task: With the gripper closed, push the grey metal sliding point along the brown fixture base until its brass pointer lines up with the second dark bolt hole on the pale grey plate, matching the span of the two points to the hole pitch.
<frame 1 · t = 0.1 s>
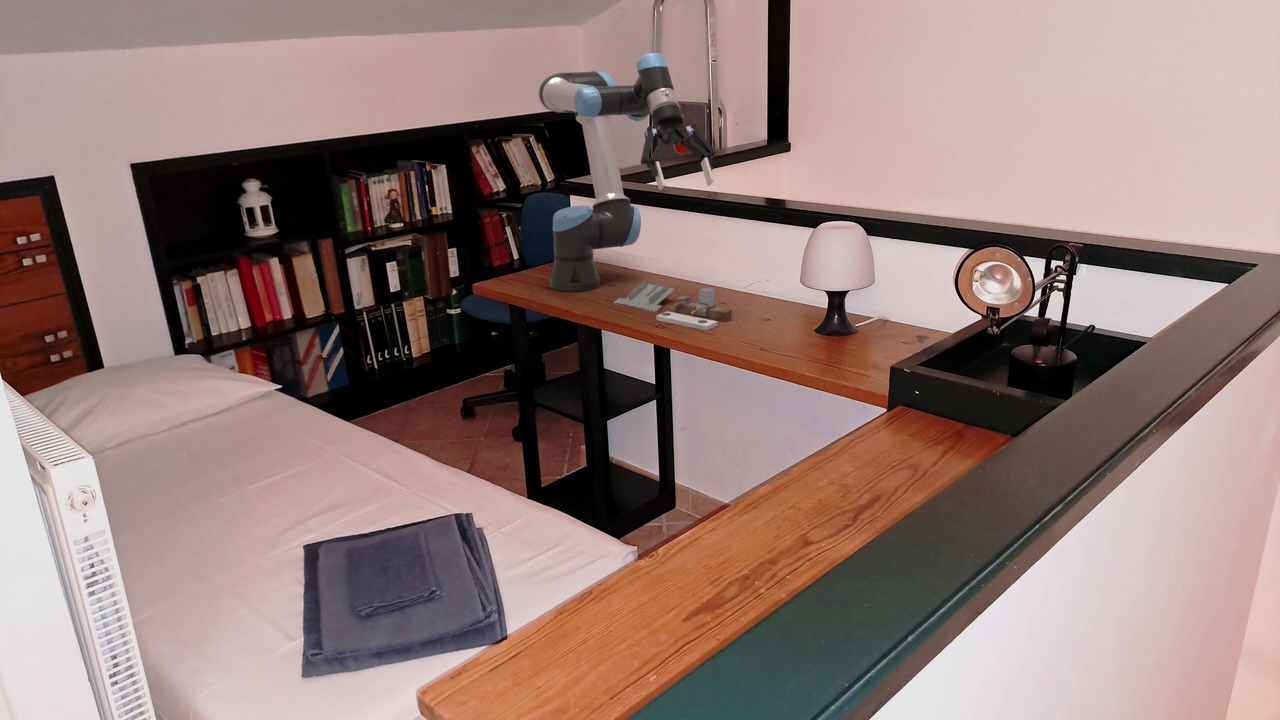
hand: (686, 185, 229), 36 cm above the table, tool tilted 35°, fingers open, 13 cm apart
hole plate: (686, 322, 240), on the table
slider: (702, 303, 242), point 4 cm above the table, slide at 0.0 cm
brown fixture base: (703, 315, 246), on the table
metal bracket: (647, 304, 259), on the table
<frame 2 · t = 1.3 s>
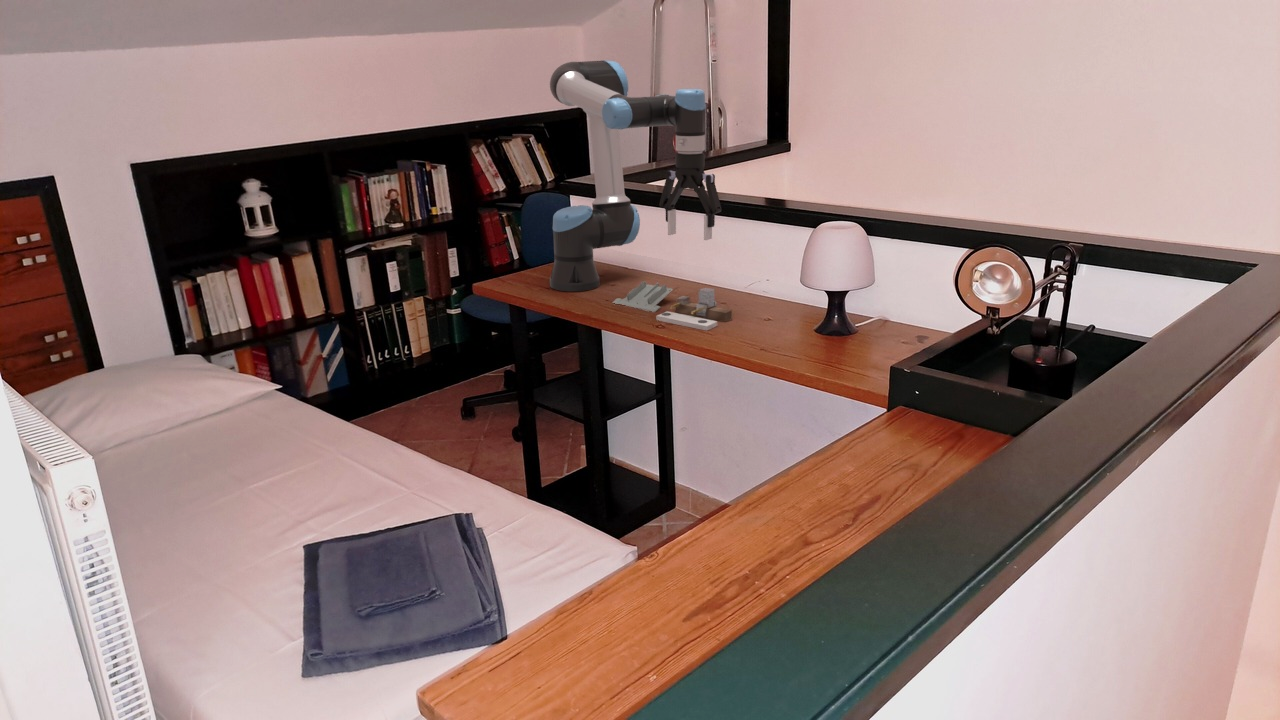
hand: (689, 236, 241), 21 cm above the table, tool pointing down, fingers open, 11 cm apart
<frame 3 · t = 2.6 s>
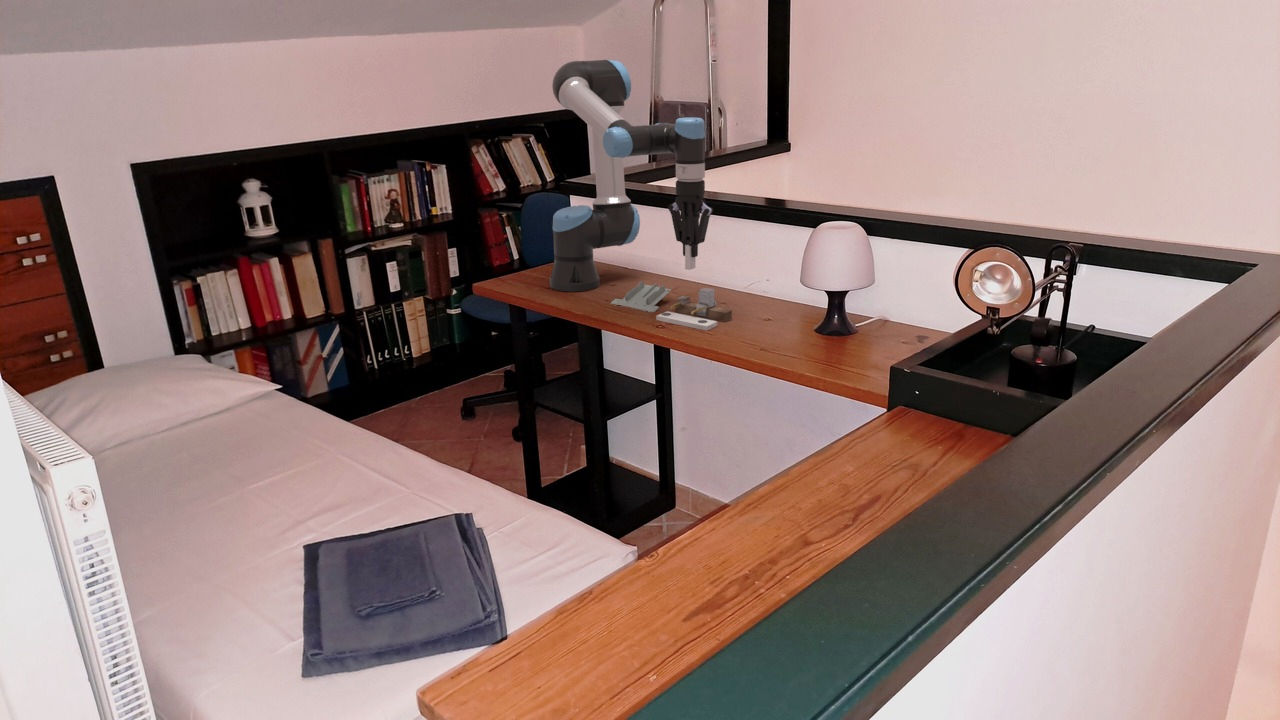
hand: (690, 268, 244), 12 cm above the table, tool pointing down, fingers closed
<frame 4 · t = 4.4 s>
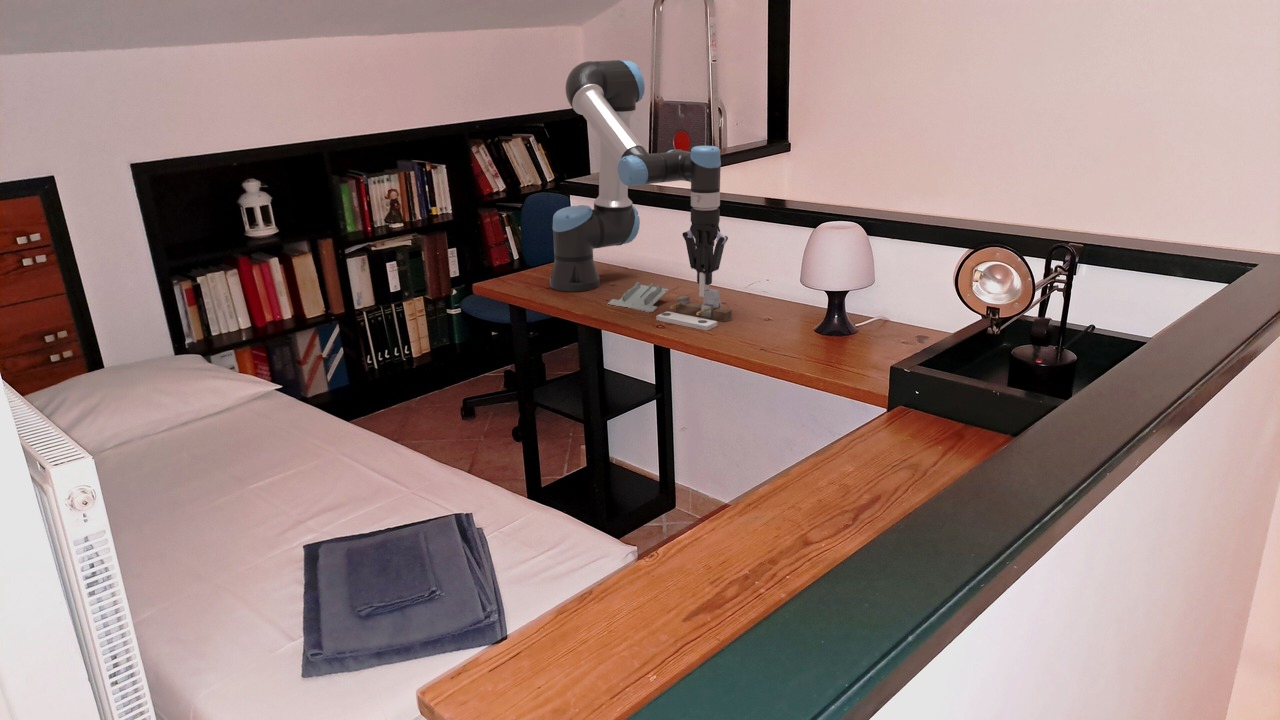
hand: (704, 295, 244), 6 cm above the table, tool pointing down, fingers closed
slider: (707, 304, 241), point 4 cm above the table, slide at 1.6 cm, touching gripper
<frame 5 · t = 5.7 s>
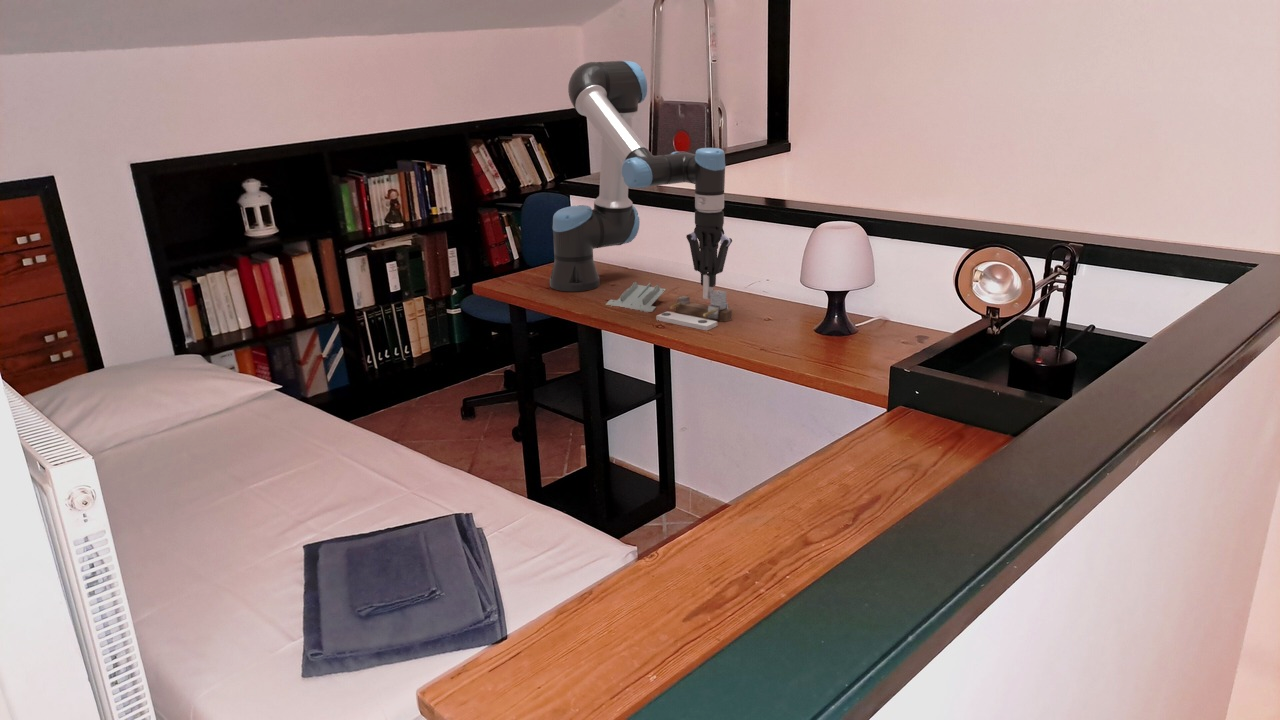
hand: (708, 297, 243), 5 cm above the table, tool pointing down, fingers closed
slider: (714, 305, 240), point 4 cm above the table, slide at 3.7 cm
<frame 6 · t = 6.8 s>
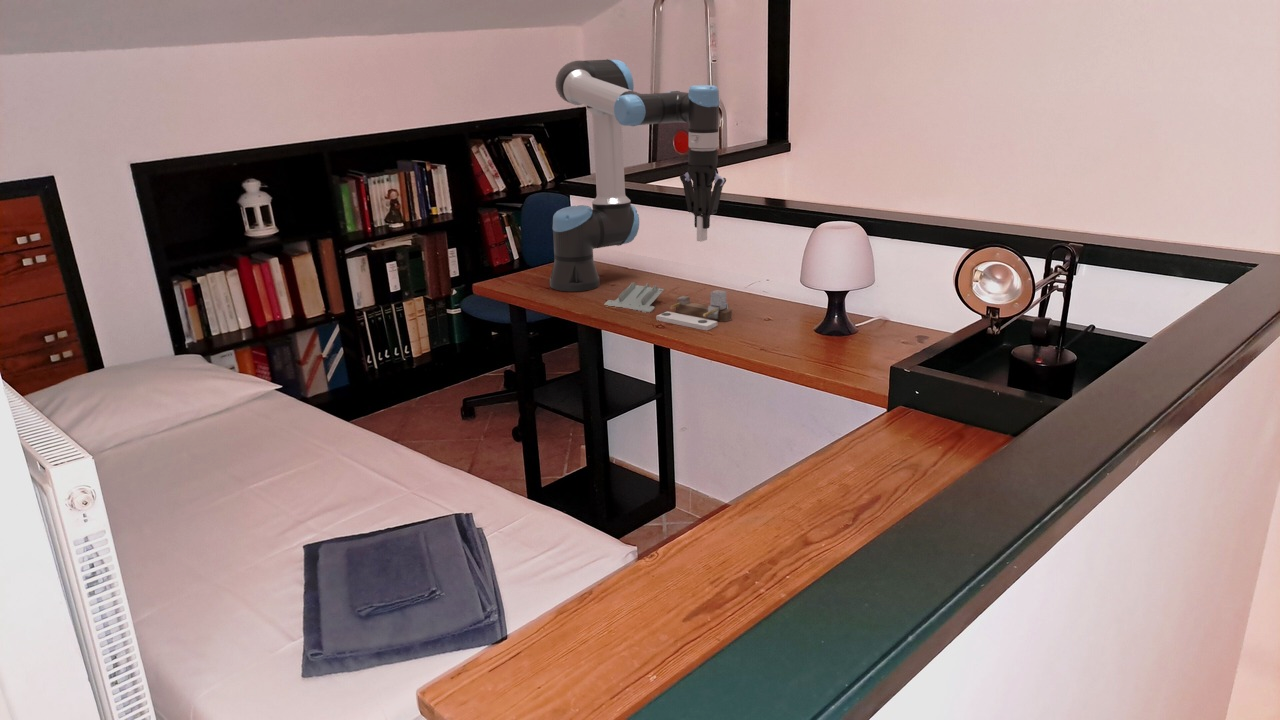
hand: (701, 240, 240), 20 cm above the table, tool pointing down, fingers closed
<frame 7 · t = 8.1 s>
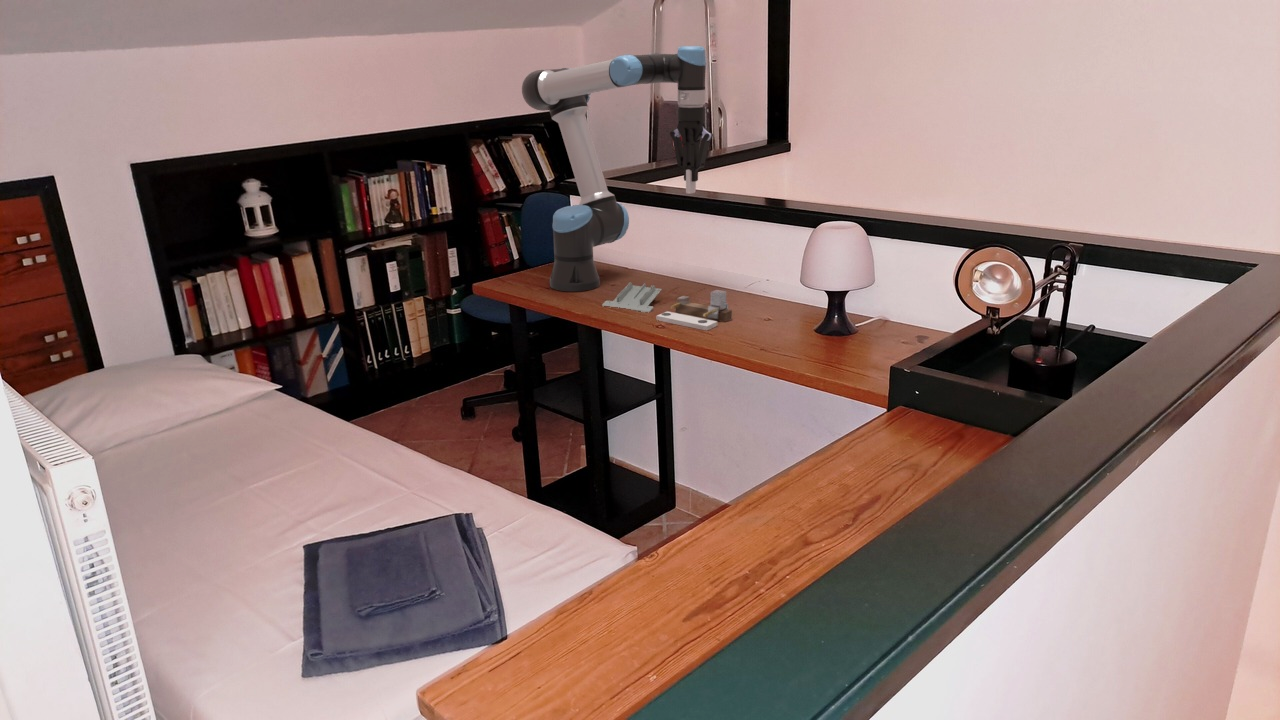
hand: (690, 192, 256), 29 cm above the table, tool pointing down, fingers closed
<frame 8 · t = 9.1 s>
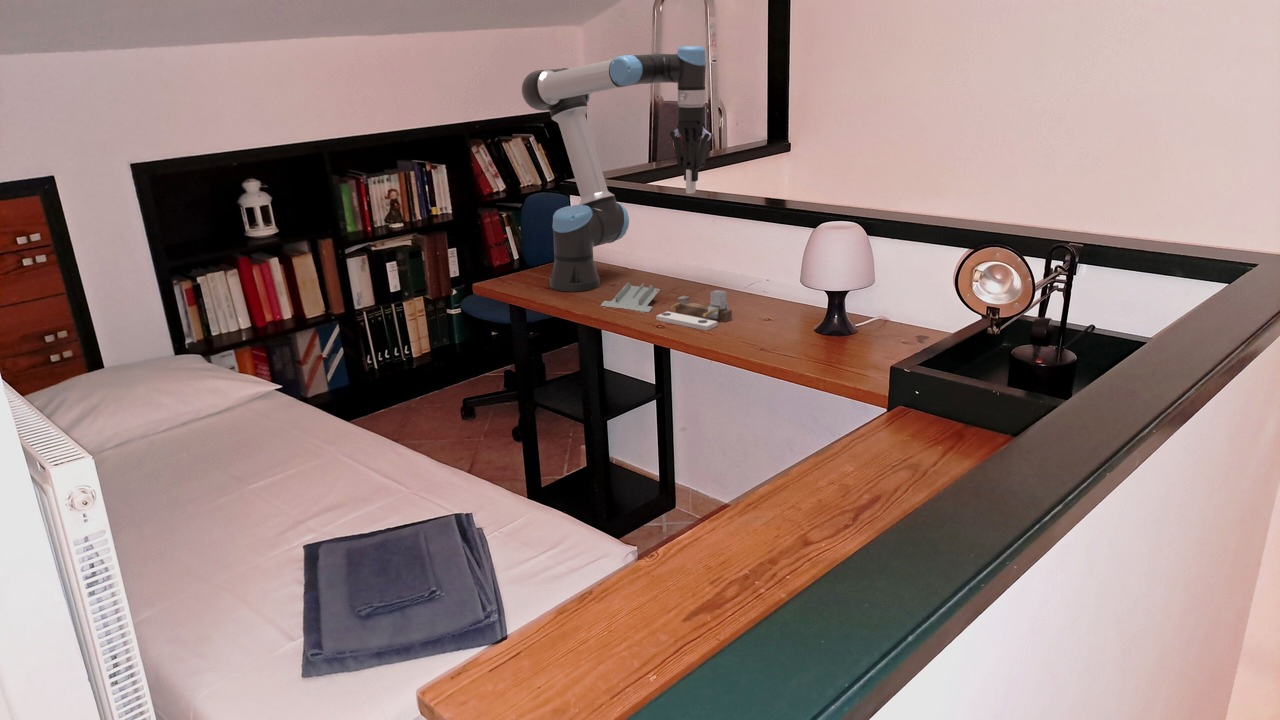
hand: (690, 192, 256), 29 cm above the table, tool pointing down, fingers closed
at the end: slider slide at 3.7 cm; slider 0.3 cm from the target spot, resting on hole plate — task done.
